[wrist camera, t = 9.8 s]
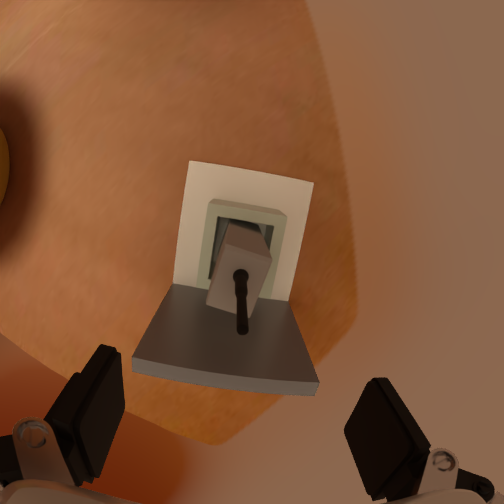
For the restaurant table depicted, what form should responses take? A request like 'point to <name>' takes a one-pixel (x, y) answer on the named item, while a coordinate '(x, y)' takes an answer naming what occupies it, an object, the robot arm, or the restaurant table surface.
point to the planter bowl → (3, 165)
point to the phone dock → (244, 193)
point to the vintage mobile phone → (239, 271)
